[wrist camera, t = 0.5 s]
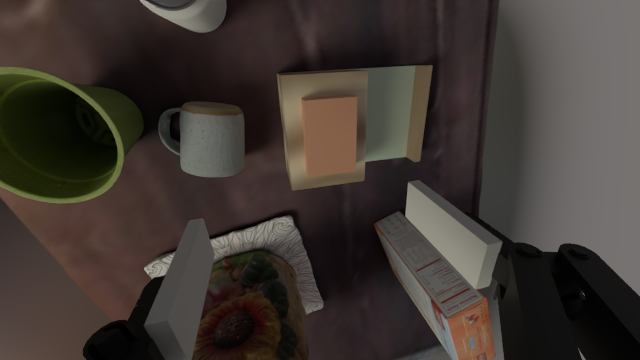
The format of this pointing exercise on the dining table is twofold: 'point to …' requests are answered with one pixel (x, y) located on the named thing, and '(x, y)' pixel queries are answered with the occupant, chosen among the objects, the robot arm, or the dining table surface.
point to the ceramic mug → (207, 138)
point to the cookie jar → (255, 295)
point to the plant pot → (62, 136)
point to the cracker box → (438, 290)
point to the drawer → (396, 111)
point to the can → (190, 13)
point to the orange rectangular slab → (329, 134)
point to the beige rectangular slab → (291, 115)
